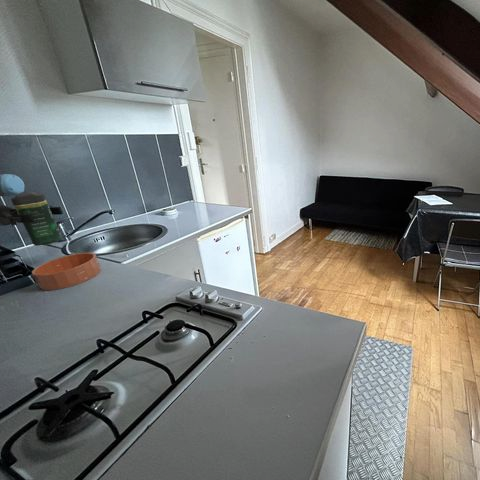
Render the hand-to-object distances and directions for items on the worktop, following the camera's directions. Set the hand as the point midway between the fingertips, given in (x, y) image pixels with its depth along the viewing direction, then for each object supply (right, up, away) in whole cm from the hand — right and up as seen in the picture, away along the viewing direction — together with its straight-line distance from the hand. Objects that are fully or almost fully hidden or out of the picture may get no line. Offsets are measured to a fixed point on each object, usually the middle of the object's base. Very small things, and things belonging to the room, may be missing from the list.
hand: (47, 214), depth 92 cm
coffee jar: (-4, -10, +5) cm, 12 cm away
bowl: (+11, -22, -2) cm, 25 cm away
